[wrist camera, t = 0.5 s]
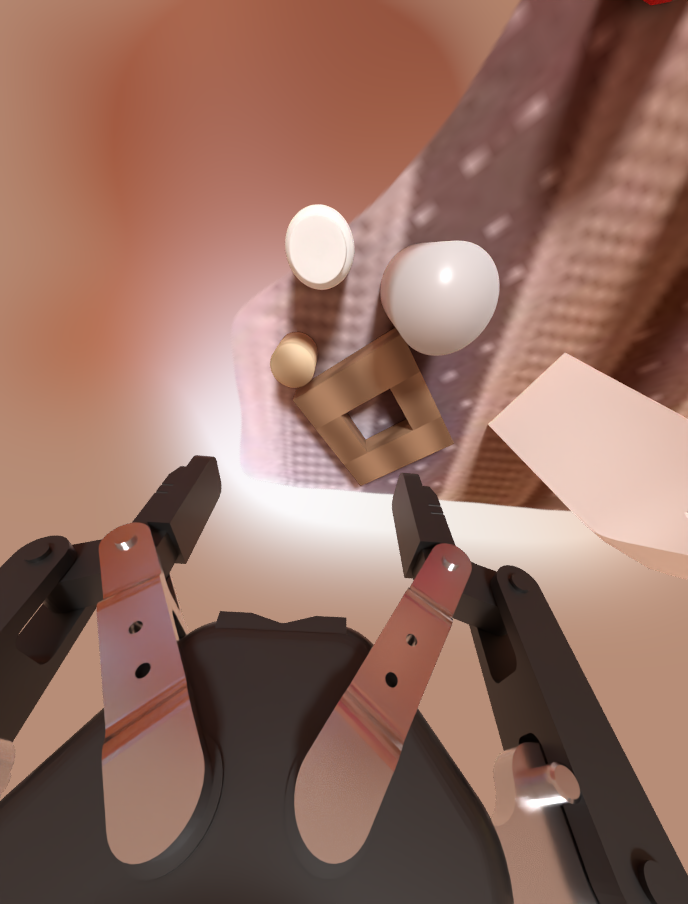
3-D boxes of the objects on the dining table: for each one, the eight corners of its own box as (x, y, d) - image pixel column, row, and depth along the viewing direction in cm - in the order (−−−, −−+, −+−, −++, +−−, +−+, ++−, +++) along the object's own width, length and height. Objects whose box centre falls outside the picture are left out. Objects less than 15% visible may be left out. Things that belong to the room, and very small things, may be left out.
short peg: (302, 323, 31) (296, 335, 27) (325, 358, 33) (323, 373, 29) (270, 345, 32) (260, 360, 28) (294, 377, 35) (288, 395, 31)
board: (397, 326, 31) (402, 333, 29) (446, 430, 39) (453, 443, 37) (296, 389, 35) (292, 400, 33) (359, 471, 44) (360, 485, 41)
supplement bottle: (293, 212, 25) (273, 196, 18) (353, 213, 26) (358, 198, 18) (298, 281, 29) (282, 293, 21) (350, 282, 29) (354, 295, 21)
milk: (487, 424, 39) (662, 633, 18) (564, 352, 33) (955, 534, 12) (541, 461, 43) (737, 668, 22) (618, 402, 37) (984, 605, 16)
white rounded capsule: (438, 223, 26) (482, 212, 18) (464, 302, 30) (510, 321, 22) (366, 274, 28) (377, 285, 20) (399, 341, 32) (418, 372, 24)
